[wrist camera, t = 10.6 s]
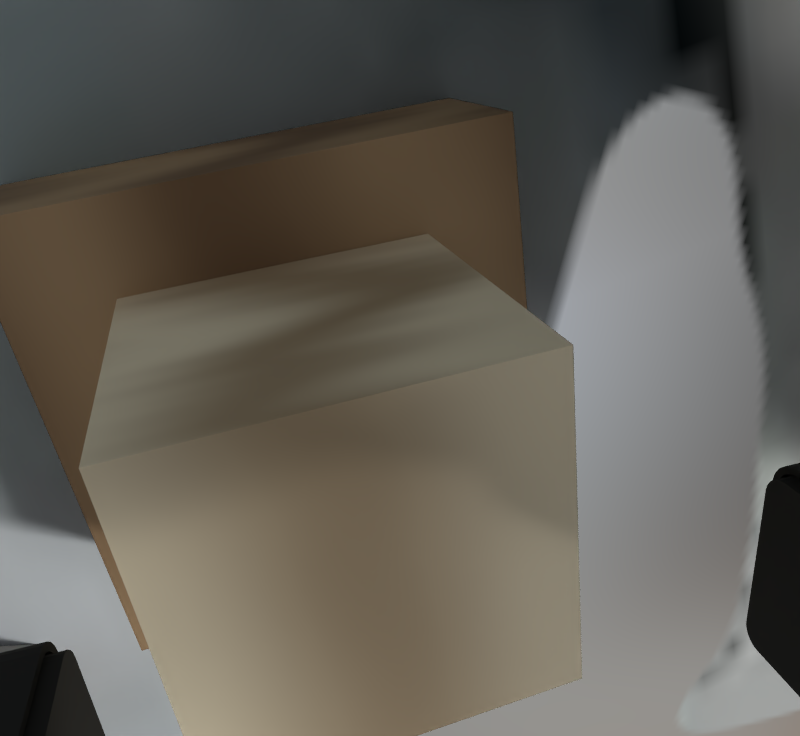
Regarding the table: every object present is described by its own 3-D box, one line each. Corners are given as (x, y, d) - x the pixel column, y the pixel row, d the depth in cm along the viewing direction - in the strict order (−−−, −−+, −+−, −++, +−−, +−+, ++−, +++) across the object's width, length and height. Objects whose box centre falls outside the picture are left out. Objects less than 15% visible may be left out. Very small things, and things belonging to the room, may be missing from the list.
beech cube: (427, 233, 14) (572, 344, 9) (456, 481, 17) (581, 678, 12) (117, 299, 13) (78, 467, 8) (199, 553, 16) (211, 807, 11)
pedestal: (443, 96, 17) (512, 111, 14) (482, 444, 22) (542, 521, 18) (4, 181, 16) (-42, 223, 12) (146, 543, 20) (141, 650, 17)
